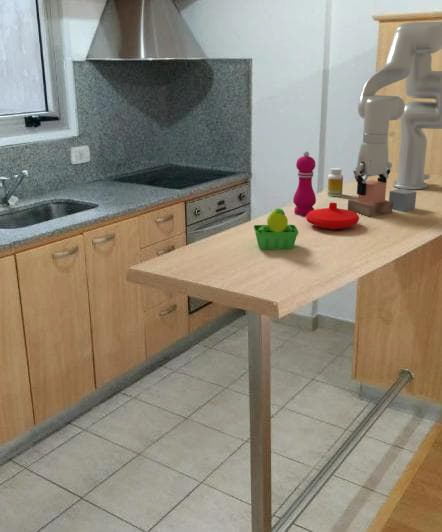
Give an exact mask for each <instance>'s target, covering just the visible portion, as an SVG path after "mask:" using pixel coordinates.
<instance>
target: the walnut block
mask: <svg viewBox="0 0 442 532" xmlns="http://www.w3.org/2000/svg"><path fill="white" fill-rule="evenodd" d="M392 209H393V202H390V201H389V200H386V199H385V201H384V202H380V203H376V204H370V203H365V202H361V201H358V198H352V199H348V200H347V210H349V211H352V212H355V213H356V214H357V213H358V214H357V215H360V214H361V215H360V216H363V215H364V216H363V217H366V216H367V217H366V218H372V216H373V217H377V216H383V215H389V213H390V214H393V210H392Z"/></svg>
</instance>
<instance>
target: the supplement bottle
mask: <svg viewBox="0 0 442 532" xmlns="http://www.w3.org/2000/svg"><path fill="white" fill-rule="evenodd" d="M343 185H344V176H343V174H342V168H341V167H331V168H330V170H329V174H328V175H327V185H326V186H327V188H326V189H327V190H326V196H329V197H333V196H337V197H341V196H342V195H343Z"/></svg>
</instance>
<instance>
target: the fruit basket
mask: <svg viewBox="0 0 442 532" xmlns="http://www.w3.org/2000/svg"><path fill="white" fill-rule="evenodd" d="M288 222H289V221H288V218H287V216H286V213H285V211H284V210H283V209H281V208H279V207H278V208H276V209H274V210H272V211H271V213H270V214H269V215H268V217H267V218H266V224H254V225H253V226H252V227H253V230H254V234H255V236H256V241H257V245H258V249H259V250H285V249H286V250H293V249H294V247H295V243H296V240H297V237H298V235H299V229H298V228H297V226H296V225H295V224H289V223H288Z"/></svg>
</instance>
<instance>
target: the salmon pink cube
mask: <svg viewBox="0 0 442 532" xmlns="http://www.w3.org/2000/svg"><path fill="white" fill-rule="evenodd" d="M365 183H367V185H366V195H365V196H363V195H358V194H357V195H358V197H357V199H358V201H361V202H365V203H370V204H376V203H380V202H384V201H385V200H386V195H387V194H386V192H387V182H386V183H384V182H379V181H378V180H373V179H371V180H366V182H365Z"/></svg>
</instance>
